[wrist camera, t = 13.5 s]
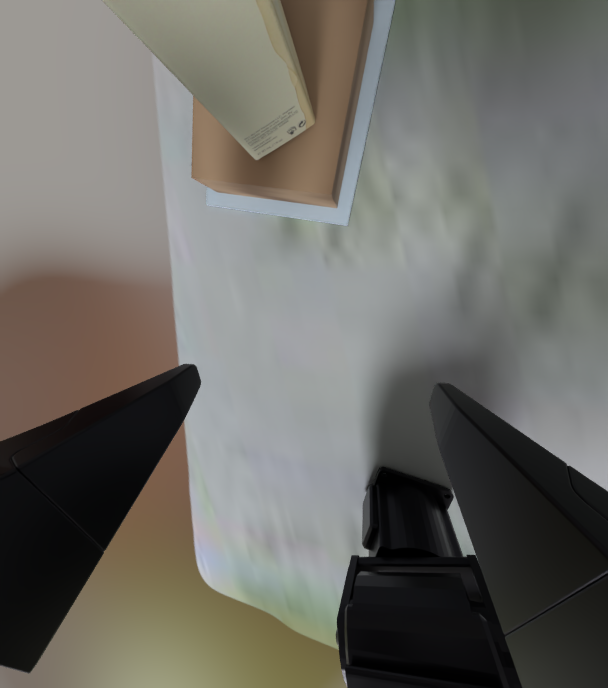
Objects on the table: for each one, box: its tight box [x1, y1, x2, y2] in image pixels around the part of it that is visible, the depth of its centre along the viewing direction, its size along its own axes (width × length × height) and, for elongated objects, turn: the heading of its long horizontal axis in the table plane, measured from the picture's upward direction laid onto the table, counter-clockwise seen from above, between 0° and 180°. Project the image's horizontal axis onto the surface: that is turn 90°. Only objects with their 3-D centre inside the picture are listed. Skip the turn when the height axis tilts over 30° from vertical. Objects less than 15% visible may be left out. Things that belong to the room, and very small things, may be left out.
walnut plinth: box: [192, 0, 374, 208], centre depth 15 cm, size 10×10×3 cm
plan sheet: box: [206, 0, 395, 226], centre depth 17 cm, size 12×12×1 cm
